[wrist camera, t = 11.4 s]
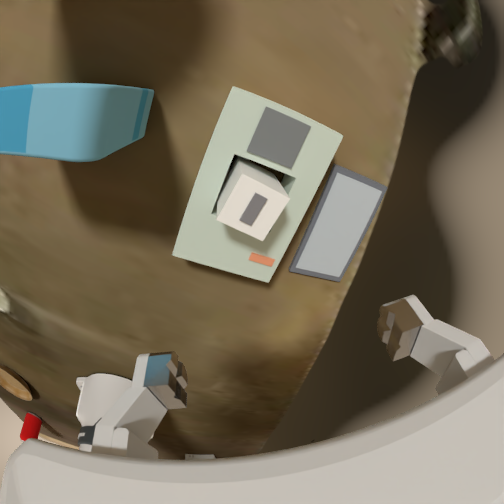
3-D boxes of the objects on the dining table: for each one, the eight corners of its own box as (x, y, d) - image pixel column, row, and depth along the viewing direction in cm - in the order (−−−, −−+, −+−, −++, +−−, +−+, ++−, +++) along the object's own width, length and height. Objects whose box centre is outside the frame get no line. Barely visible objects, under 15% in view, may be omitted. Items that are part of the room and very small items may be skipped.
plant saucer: (-10, 349, 37) (-14, 357, 35) (36, 382, 43) (33, 391, 41) (-8, 370, 42) (-11, 377, 40) (33, 398, 48) (30, 405, 46)
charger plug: (253, 207, 27) (262, 242, 21) (218, 190, 26) (216, 220, 20) (274, 174, 26) (290, 199, 20) (237, 155, 25) (242, 173, 18)
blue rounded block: (158, 90, 20) (106, 84, 10) (148, 136, 23) (92, 166, 12) (55, 84, 18) (-27, 92, 8) (48, 125, 20) (-31, 153, 10)
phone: (336, 277, 34) (339, 282, 33) (287, 266, 32) (289, 271, 31) (383, 184, 28) (387, 187, 27) (331, 162, 26) (335, 164, 25)
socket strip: (264, 263, 31) (268, 283, 28) (177, 237, 28) (171, 256, 25) (329, 130, 24) (344, 135, 21) (231, 88, 21) (232, 86, 18)
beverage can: (45, 421, 56) (38, 450, 46) (34, 418, 56) (26, 445, 46) (35, 412, 53) (27, 442, 43) (24, 409, 53) (15, 437, 43)
